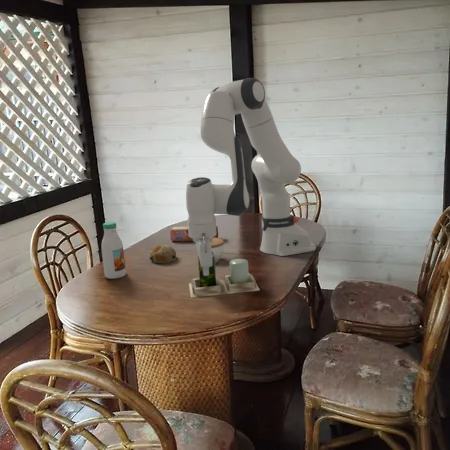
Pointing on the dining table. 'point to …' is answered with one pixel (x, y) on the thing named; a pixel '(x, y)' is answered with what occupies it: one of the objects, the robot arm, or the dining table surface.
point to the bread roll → (162, 254)
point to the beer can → (209, 279)
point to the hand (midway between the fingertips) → (205, 271)
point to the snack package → (183, 234)
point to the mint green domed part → (239, 271)
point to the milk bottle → (112, 252)
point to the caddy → (222, 287)
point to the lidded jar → (217, 248)
